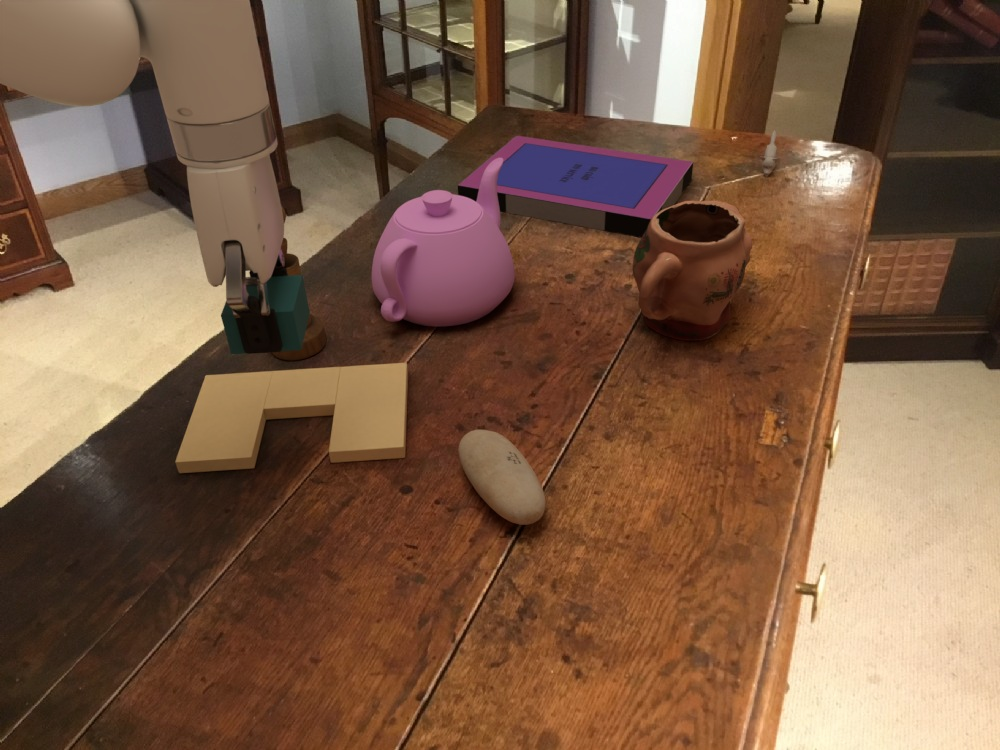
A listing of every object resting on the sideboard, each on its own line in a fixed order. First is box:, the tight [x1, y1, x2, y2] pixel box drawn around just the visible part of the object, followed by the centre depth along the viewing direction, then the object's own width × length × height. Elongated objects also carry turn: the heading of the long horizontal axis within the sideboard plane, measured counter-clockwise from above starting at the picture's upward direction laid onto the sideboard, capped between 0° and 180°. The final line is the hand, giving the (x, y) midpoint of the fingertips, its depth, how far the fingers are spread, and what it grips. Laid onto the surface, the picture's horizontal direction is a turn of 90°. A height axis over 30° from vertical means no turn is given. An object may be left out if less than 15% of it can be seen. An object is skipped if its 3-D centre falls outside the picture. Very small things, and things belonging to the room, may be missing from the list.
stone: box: [458, 429, 547, 526], centre depth 78 cm, size 6×6×12 cm
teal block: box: [220, 274, 311, 355], centre depth 74 cm, size 6×6×4 cm
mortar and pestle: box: [271, 205, 327, 361], centre depth 94 cm, size 7×6×18 cm
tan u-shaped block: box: [174, 362, 409, 474], centre depth 88 cm, size 22×14×2 cm, turn 94°
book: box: [457, 135, 694, 238], centre depth 130 cm, size 21×3×30 cm
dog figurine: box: [758, 130, 781, 178], centre depth 134 cm, size 3×8×6 cm
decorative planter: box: [632, 200, 753, 342], centre depth 96 cm, size 20×12×14 cm, turn 147°
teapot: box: [371, 158, 516, 328], centre depth 104 cm, size 25×18×14 cm
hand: (270, 327), depth 75 cm, fingers closed on teal block, 6 cm apart
